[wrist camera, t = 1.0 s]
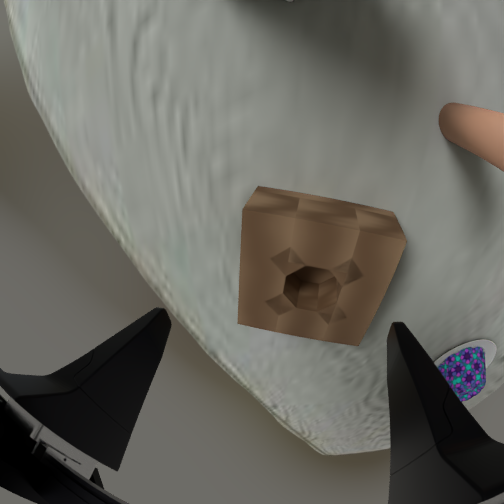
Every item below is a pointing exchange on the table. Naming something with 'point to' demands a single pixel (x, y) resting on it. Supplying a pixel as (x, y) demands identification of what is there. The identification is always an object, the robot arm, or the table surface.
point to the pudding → (467, 367)
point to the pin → (475, 131)
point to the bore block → (315, 264)
